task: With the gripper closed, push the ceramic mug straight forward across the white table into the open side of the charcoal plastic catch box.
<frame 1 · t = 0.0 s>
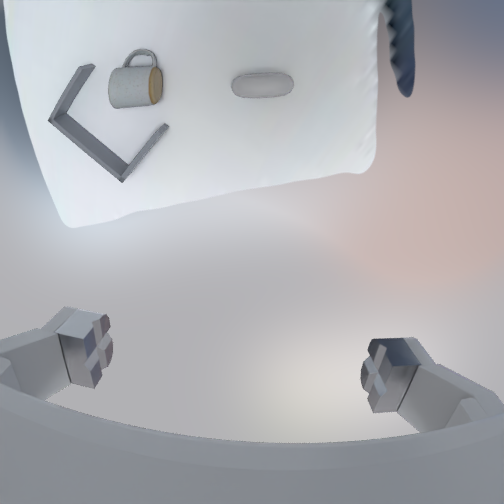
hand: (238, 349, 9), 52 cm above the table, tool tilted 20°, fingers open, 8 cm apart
ceramic mug: (142, 77, 49), on the table
catch box: (111, 116, 54), on the table
donut: (262, 81, 50), on the table
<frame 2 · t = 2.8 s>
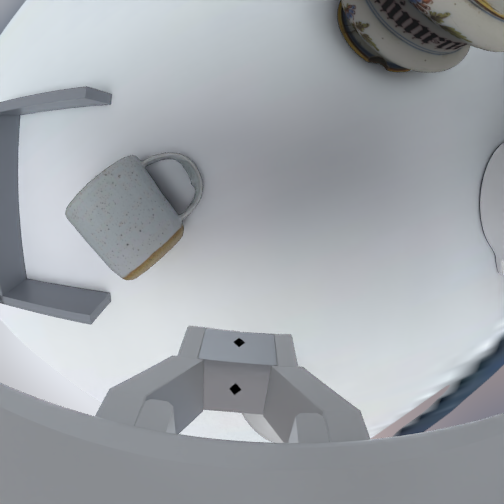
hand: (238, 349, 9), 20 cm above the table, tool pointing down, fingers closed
ceramic mug: (150, 199, 28), on the table
catch box: (57, 200, 28), on the table
donut: (273, 368, 34), on the table
apothecary jar: (385, 27, 23), on the table
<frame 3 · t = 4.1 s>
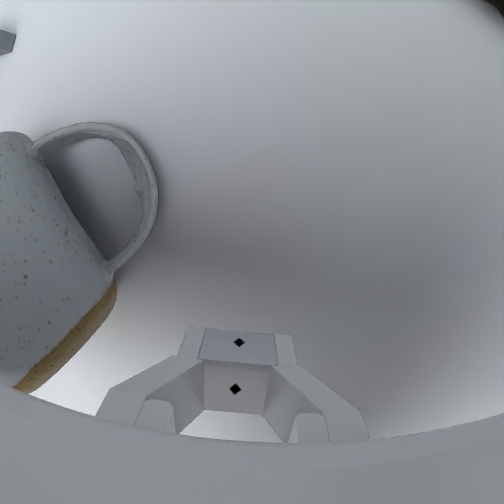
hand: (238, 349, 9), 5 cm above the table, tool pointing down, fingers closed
ceramic mug: (67, 219, 13), on the table
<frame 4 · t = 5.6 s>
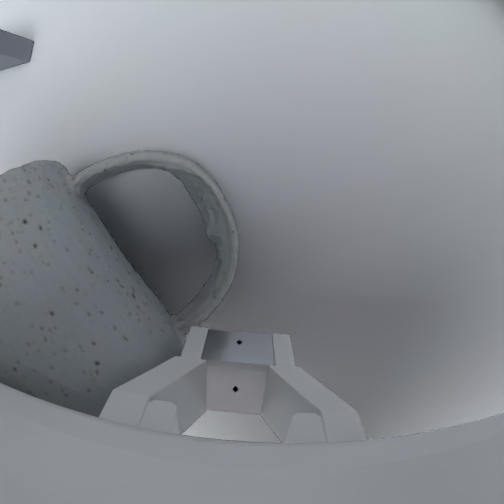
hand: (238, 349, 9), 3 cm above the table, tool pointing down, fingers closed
ceramic mug: (109, 261, 12), on the table, touching gripper
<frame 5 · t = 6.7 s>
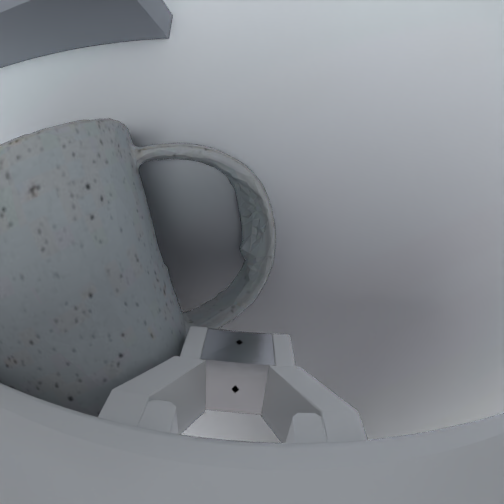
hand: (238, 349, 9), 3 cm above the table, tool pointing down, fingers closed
ceramic mug: (127, 236, 12), on the table, touching gripper
catch box: (34, 270, 12), on the table
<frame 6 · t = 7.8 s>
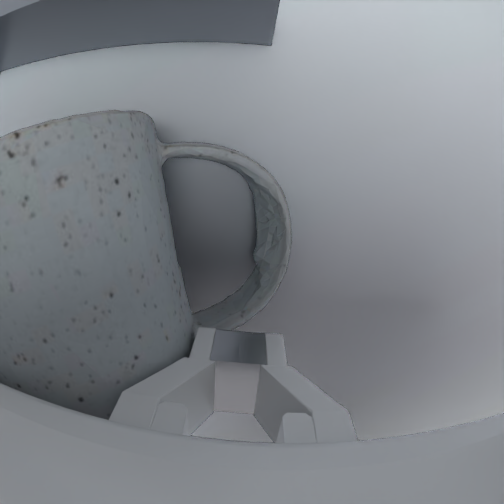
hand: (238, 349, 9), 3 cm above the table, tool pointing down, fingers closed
ceramic mug: (137, 231, 12), on the table, touching gripper
catch box: (100, 286, 12), on the table
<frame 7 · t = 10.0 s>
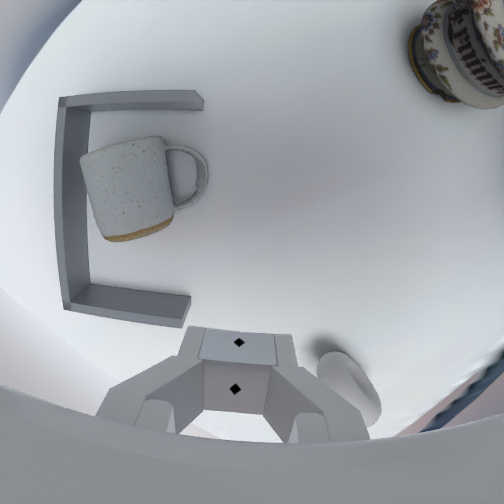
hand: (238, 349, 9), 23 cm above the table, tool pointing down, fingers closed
ceramic mug: (154, 177, 30), on the table
catch box: (136, 203, 30), on the table
donut: (339, 362, 36), on the table
apothecary jar: (443, 62, 26), on the table
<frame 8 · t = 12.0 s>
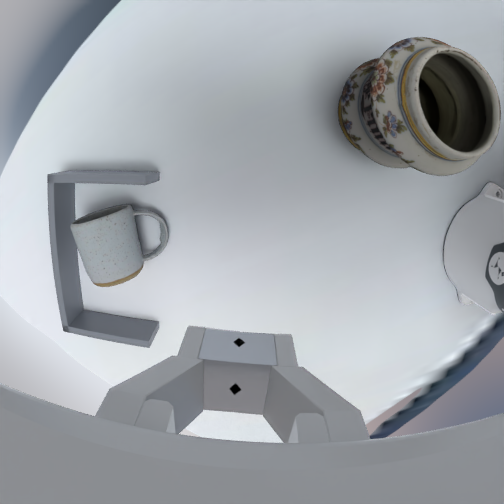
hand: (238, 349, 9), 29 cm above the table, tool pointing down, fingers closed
ceramic mug: (129, 232, 38), on the table
catch box: (114, 252, 39), on the table
apothecary jar: (376, 116, 34), on the table
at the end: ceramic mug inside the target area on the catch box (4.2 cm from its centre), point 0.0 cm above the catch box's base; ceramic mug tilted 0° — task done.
